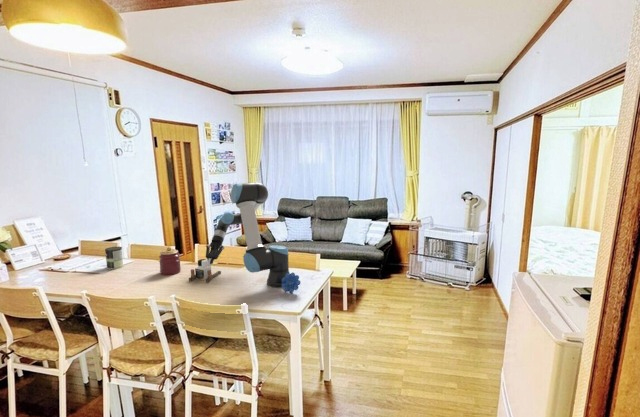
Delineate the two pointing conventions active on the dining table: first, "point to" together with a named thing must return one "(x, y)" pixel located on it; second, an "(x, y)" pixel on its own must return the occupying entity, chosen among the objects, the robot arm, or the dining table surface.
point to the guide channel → (207, 273)
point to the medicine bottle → (202, 269)
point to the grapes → (290, 282)
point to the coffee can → (114, 257)
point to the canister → (169, 262)
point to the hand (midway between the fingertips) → (207, 268)
